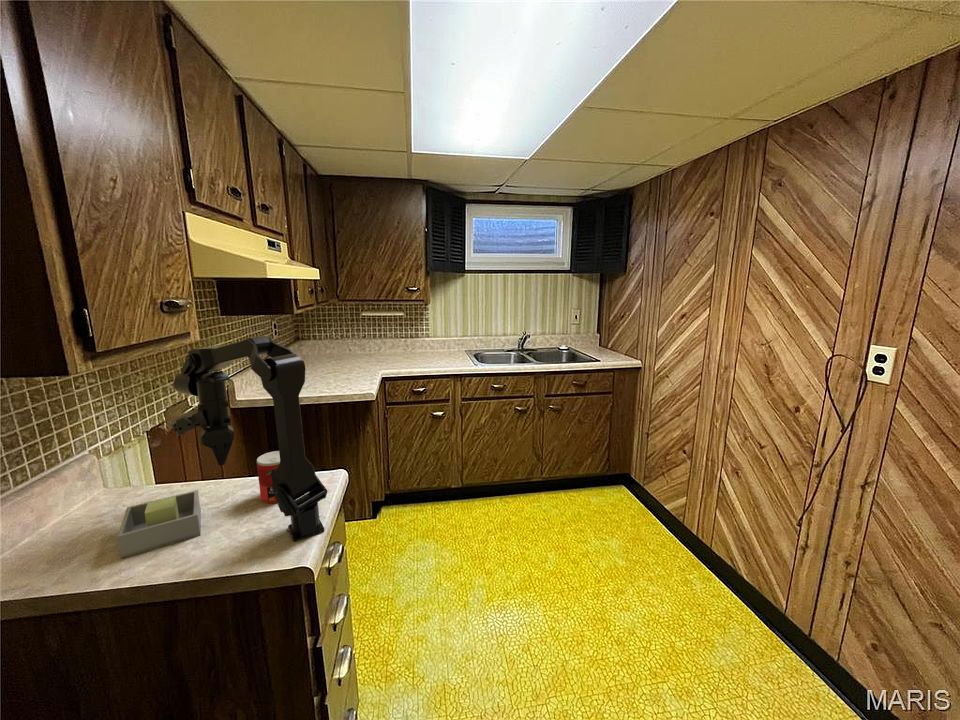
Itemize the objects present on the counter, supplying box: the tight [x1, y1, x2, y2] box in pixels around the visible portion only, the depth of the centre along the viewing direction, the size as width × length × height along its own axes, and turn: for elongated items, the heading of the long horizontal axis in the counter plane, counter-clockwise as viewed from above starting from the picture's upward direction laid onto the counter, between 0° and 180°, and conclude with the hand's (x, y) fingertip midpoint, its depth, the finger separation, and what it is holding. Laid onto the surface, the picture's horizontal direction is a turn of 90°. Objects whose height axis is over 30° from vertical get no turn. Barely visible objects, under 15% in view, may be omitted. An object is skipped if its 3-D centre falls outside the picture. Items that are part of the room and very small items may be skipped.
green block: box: [145, 495, 179, 527], centre depth 86 cm, size 5×5×6 cm
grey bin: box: [116, 489, 202, 560], centre depth 86 cm, size 13×13×5 cm
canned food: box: [256, 450, 280, 504], centre depth 100 cm, size 8×8×11 cm
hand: (221, 458), depth 96 cm, fingers open, 9 cm apart
